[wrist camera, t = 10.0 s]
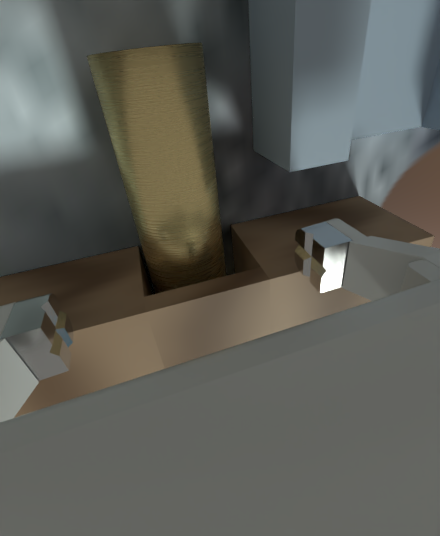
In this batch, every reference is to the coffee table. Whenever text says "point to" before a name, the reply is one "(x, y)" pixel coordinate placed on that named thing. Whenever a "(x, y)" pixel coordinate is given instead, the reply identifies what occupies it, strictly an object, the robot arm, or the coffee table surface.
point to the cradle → (340, 75)
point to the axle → (165, 157)
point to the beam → (190, 300)
